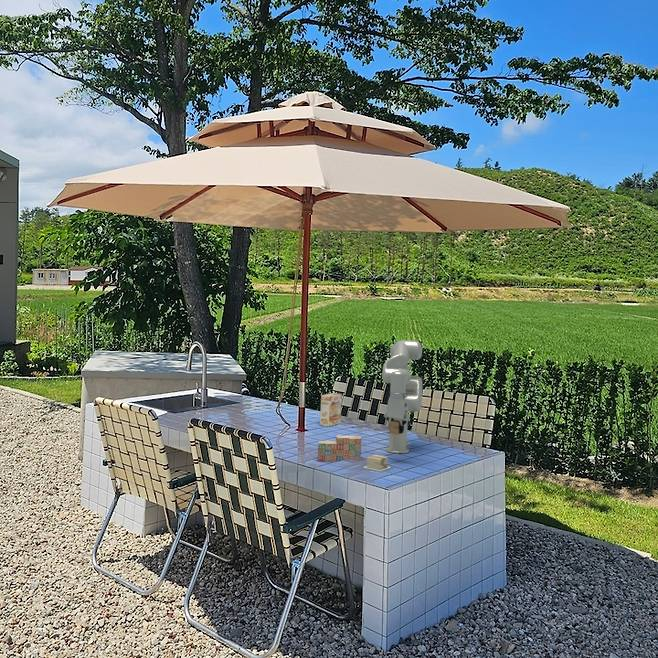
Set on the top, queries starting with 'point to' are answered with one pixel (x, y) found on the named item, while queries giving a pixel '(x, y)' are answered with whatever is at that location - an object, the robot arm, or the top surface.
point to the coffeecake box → (330, 409)
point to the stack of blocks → (340, 449)
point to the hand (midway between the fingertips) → (396, 431)
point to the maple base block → (377, 462)
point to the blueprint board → (376, 469)
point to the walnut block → (394, 427)
